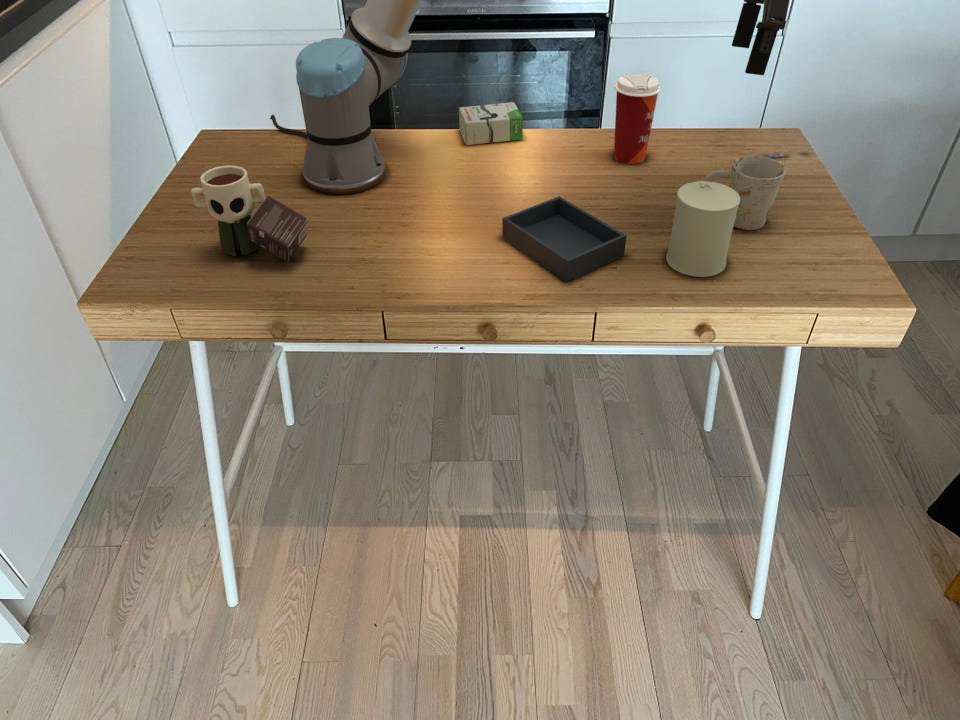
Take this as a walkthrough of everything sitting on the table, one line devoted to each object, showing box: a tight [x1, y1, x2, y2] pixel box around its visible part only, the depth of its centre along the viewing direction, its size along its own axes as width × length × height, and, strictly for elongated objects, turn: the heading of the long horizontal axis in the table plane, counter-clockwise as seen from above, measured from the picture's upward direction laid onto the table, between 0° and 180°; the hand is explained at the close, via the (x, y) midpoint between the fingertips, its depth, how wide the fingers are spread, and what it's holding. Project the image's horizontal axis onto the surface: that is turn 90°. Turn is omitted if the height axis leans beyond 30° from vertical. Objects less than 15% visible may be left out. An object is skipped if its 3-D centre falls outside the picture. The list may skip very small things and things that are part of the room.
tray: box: [501, 195, 627, 283], centre depth 124 cm, size 16×12×4 cm
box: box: [247, 195, 309, 263], centre depth 121 cm, size 6×6×7 cm
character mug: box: [190, 164, 266, 257], centre depth 122 cm, size 11×7×13 cm, turn 98°
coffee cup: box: [613, 73, 661, 165], centre depth 146 cm, size 8×8×15 cm
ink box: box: [458, 101, 524, 146], centre depth 158 cm, size 9×5×12 cm
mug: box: [702, 155, 787, 231], centre depth 128 cm, size 8×13×10 cm, turn 70°
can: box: [665, 180, 740, 278], centre depth 118 cm, size 9×9×12 cm
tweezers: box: [767, 153, 786, 159], centre depth 149 cm, size 2×12×1 cm, turn 103°
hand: (746, 59), depth 121 cm, fingers open, 13 cm apart
